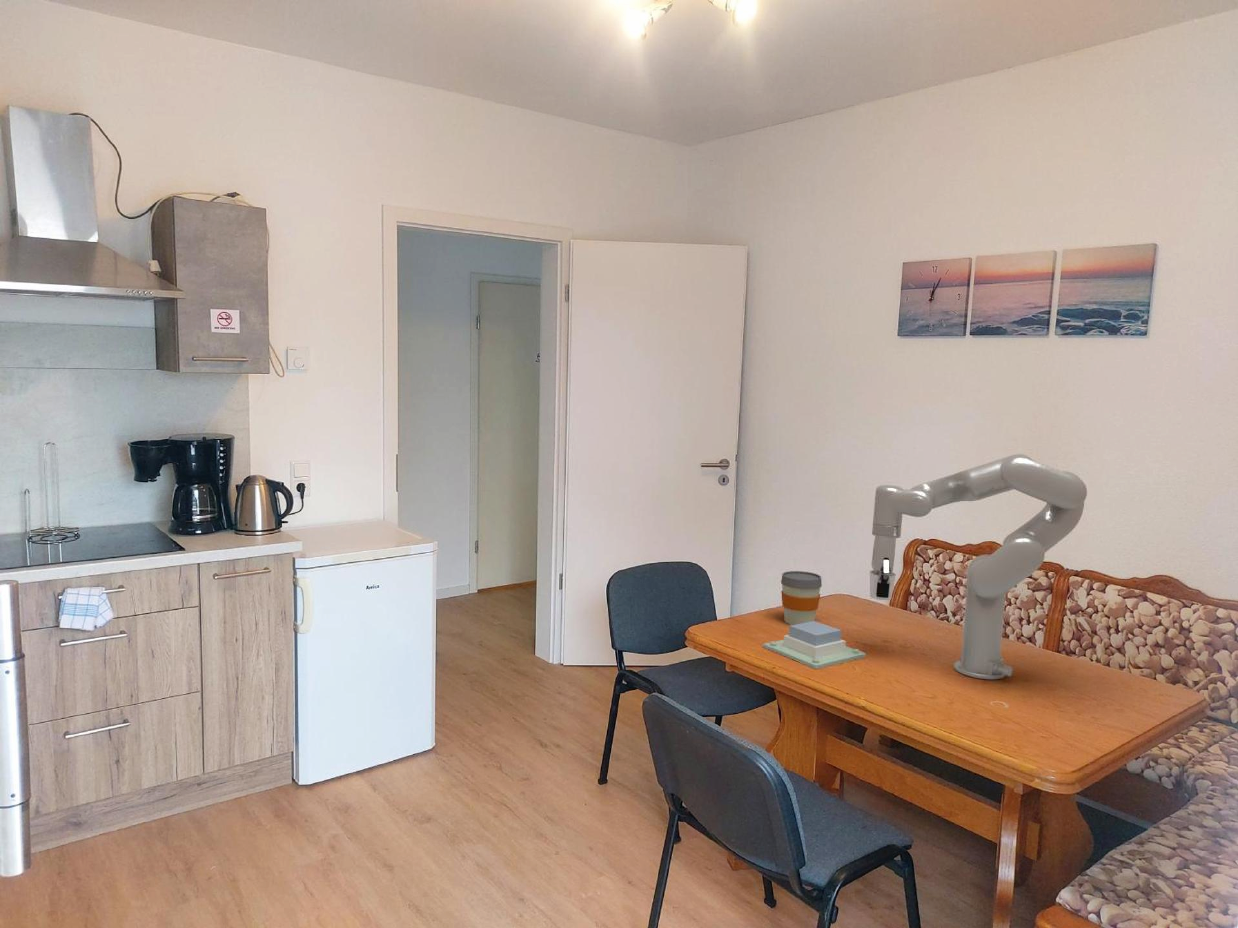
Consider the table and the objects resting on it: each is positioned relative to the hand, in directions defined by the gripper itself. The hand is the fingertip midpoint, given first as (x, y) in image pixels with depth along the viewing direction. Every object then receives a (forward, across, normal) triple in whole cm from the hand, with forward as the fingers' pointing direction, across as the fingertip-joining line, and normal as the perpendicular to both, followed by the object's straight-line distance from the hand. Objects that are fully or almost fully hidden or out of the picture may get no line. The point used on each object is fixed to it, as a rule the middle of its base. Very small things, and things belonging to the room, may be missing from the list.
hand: (880, 593), depth 231 cm
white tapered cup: (+1, 0, 0) cm, 1 cm away
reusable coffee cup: (+19, -27, -21) cm, 39 cm away
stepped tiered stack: (+18, +2, -17) cm, 25 cm away
